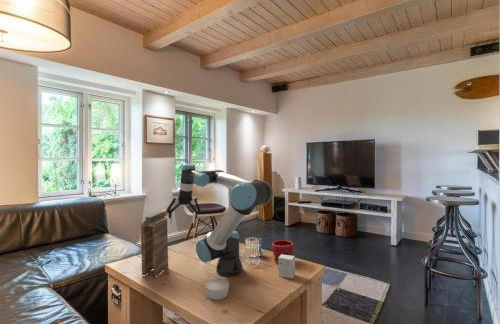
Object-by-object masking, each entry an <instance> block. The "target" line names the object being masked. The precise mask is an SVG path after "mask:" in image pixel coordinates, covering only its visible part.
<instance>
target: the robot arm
mask: <svg viewBox="0 0 500 324" xmlns="http://www.w3.org/2000/svg"><path fill="white" fill-rule="evenodd" d="M209 184H210V185H211V184H216V185H220V186H224V187H226V188H229V189H231V191H230V201H229V202H230V203H229V204H230V206H229V207H228V209H227V210H226V211H225V213H224V214H223V216H222V217H221V219H220V220H219V222H218V223H217V225H216V226H215V227H214V229H213V230H211V231H209V232H208V233H207V234H206V236H205V237H204V238H203V239H200V240H198V241H197V242H196V244H195V251H196V255H197V257H198V259H199V260H200V262H203V263H208V262H212V261H214V260H216V259H218V261H217V262H216V263H217V264H216V269H215V270H216V274H218V275H219V276H223V277H233V276H237V275H239V274H241V273H242V272H243V264H242V260H241V258H240V235H239V232H238V231H236V229H237V227H238V226H239V224H240V223H241V222H242V221H243V219H244V218H245V217H246V216H249V215H251V214H252V213H253V211H254V210H255V208H257V207H260V206H264V205H266V204H268V203H270V201H271V200H272V198H273V196H274V189H273V186H271V184H270V183H269V182H267V181H265V180H260V179H257V178H256V179H250V178H245V177H242V176H238V175H234V174H230V173H228V172H225V171H224V170H221V169H217V170H216V169H215V170H202V171H200V170H197V169H196V165H195V164H194V163H189V162H187V163H183V164H182V167H181V174H180V182H179V193H178V197H177V196H173V198H172V200H171V202H170V203H169V204H168V206H167V208H166V209H165V210H166V212H167V213H169V215H168V219H169V224H170V225H173V216H174V215H173V213H174V211H175V210H176V209H177V208H179V206H188V205H189V206H190V207H191V208H192V210H193V214H192V215H193V216H192V224H193V225H195V224H196V223H195V222H196V219H197V218H198V214H199V213H201V212H202V211H201V208H200V206H199V204H198V198H197V196H194V197H193V190H194V185H196V186H197V187H202V188H203V187H205V186H207V185H209ZM177 200H178V201H177ZM176 201H177V202H176ZM192 201H193V202H194V204H195V206H196V207H195V206H194V205H193V204H192Z"/></svg>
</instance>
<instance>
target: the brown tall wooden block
mask: <svg viewBox="0 0 500 324" xmlns="http://www.w3.org/2000/svg"><path fill="white" fill-rule="evenodd" d="M168 233H169V232H168V217H166V216H162V217H160V218H158V219H156V220H154V221H152V223H146V219H144V220H143V221H142V222H140V237H141V238H140V240H141V241H140V242H141V243H140V244H141V246H140V247H141V248H140V249H141V251H140V252H141V276H142V275H146V274H147V273H149V272H150V271H151V270H152V269H154V270H153V277H154V276H158V275H159V274H160V273H161V272H162V271H163V270H165V269H166V268H167V267H168V268H169V249H168V248H169V247H168V246H169V245H168V244H169V241H168V235H169V234H168ZM168 268H167V269H168ZM167 269H166V270H167ZM166 270H165V271H166ZM149 274H150V273H149ZM159 276H160V275H159ZM159 276H158V277H159Z"/></svg>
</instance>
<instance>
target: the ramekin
mask: <svg viewBox="0 0 500 324" xmlns="http://www.w3.org/2000/svg"><path fill="white" fill-rule="evenodd" d="M229 288H230V282H229V281H228V280H226V279H223V278H217V279H215V278H214V279H212V280H209V281H208V282H206V284H205V289H206V294H207V297H208V298H209V299H211V300H214V301H215V300H216V301H219V300H223V299H225V298H226V297H227V296H228V294H229Z"/></svg>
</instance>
